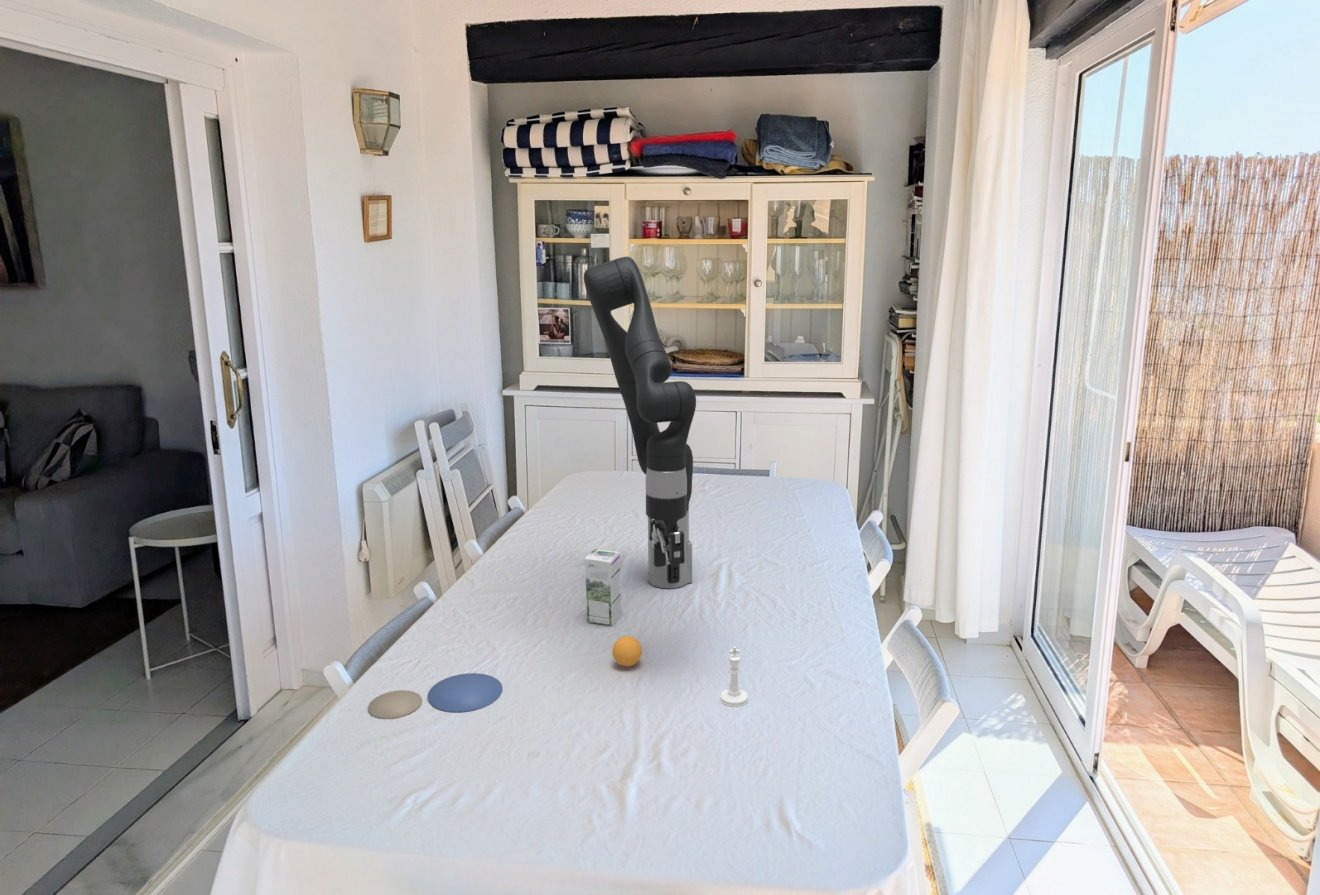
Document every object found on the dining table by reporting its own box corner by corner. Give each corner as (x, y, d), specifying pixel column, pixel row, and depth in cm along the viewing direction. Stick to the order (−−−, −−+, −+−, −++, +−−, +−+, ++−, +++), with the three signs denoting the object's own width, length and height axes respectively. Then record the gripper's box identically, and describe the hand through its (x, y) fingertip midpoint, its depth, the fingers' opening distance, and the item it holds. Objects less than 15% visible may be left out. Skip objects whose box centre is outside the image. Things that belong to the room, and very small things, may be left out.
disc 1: (419, 687, 164) (419, 686, 164) (423, 713, 156) (423, 712, 156) (367, 696, 161) (367, 695, 161) (368, 723, 153) (368, 722, 153)
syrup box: (622, 615, 192) (620, 550, 188) (611, 627, 186) (610, 560, 183) (597, 611, 194) (595, 547, 190) (586, 623, 188) (583, 557, 184)
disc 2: (496, 669, 170) (496, 668, 170) (507, 704, 158) (507, 703, 158) (424, 681, 166) (424, 680, 166) (431, 718, 154) (430, 717, 154)
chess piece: (717, 692, 161) (718, 641, 159) (745, 691, 162) (746, 639, 159) (722, 707, 157) (722, 654, 154) (750, 705, 157) (751, 653, 154)
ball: (637, 655, 175) (636, 629, 173) (645, 668, 170) (645, 641, 168) (609, 660, 173) (608, 633, 172) (617, 673, 168) (616, 646, 166)
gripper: (698, 500, 161) (697, 586, 165) (674, 478, 174) (674, 558, 178) (657, 504, 159) (657, 591, 163) (636, 481, 172) (636, 562, 176)
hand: (666, 574), depth 170 cm, fingers open, 8 cm apart
